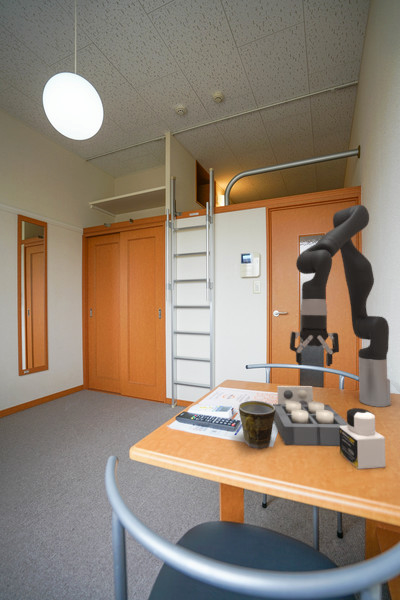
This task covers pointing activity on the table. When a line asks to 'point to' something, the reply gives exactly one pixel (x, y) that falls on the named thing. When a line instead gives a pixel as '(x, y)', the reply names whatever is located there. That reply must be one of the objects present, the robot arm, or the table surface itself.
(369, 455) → the medicine bottle
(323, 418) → the button
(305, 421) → the button
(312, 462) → the table surface
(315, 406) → the button
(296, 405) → the button
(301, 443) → the board
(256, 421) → the ceramic cup
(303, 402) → the card
